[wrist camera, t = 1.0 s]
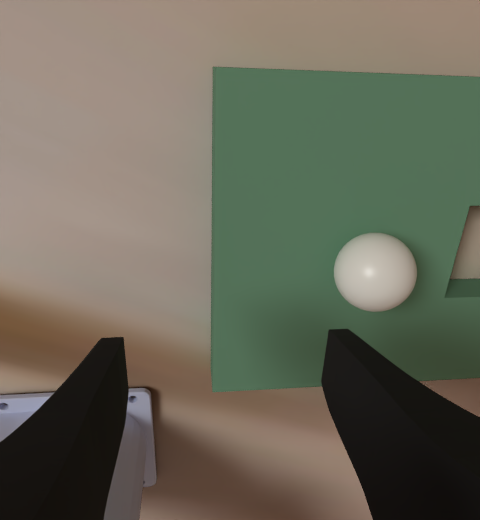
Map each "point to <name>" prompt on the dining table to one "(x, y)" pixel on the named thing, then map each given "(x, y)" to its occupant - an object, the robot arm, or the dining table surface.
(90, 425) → the robot arm
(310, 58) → the dining table surface
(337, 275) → the ball
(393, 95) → the putting deck
